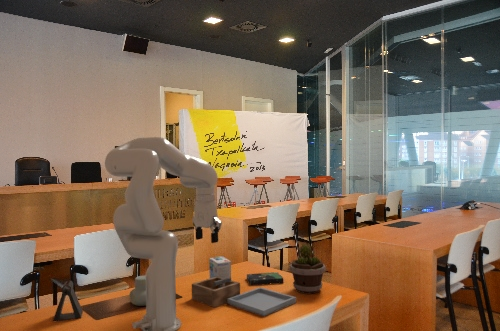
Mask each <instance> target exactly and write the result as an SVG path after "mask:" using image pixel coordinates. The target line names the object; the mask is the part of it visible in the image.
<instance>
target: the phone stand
mask: <svg viewBox="0 0 500 331" xmlns="http://www.w3.org/2000/svg"><path fill="white" fill-rule="evenodd" d="M67 283H68V284H67ZM67 287H68V288H67ZM66 296H68V298H69V303H70V304H71V308H72V311H73V312H66V313H65V312H64V313H62V312H63V309H64V305H65V304H64V303H65V301H66V300H65V299H66ZM83 311H84V310H83V309H82V305H81V304H80V301H79V299H78V297H77V294H76V292H75V290H74V282H73V281H72V280H69V282H68V280H66V281H64V284H63V286H62V288H61V297H60V299H59V302H58V305H57V307H56V310H55V313H54V316H53V318H52V322H53V321H56V322H63V321H69V320H70V321H72V320H71V319H73V320H79V319H78V318H80V319H82V316H83Z"/></svg>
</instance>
